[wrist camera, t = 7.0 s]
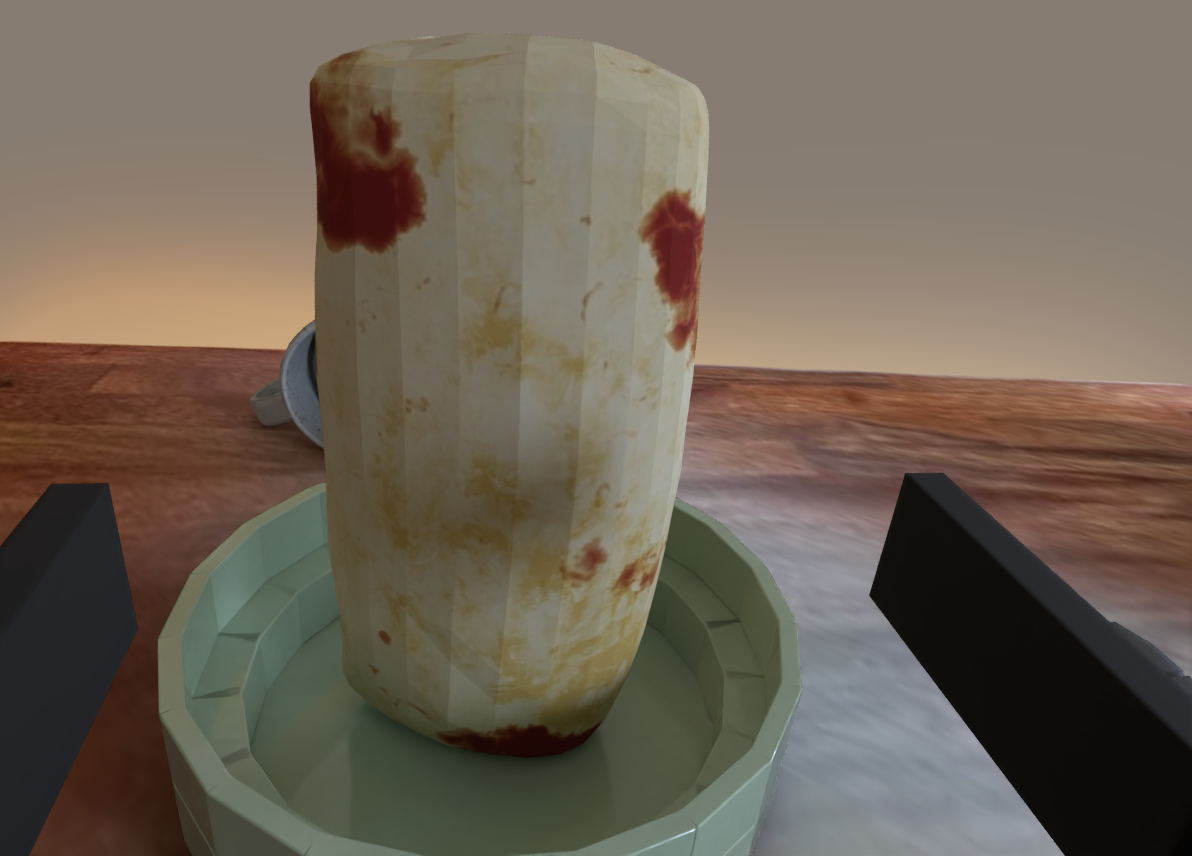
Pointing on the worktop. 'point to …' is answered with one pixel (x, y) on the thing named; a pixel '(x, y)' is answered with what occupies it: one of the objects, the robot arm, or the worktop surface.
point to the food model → (502, 371)
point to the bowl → (456, 776)
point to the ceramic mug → (294, 390)
